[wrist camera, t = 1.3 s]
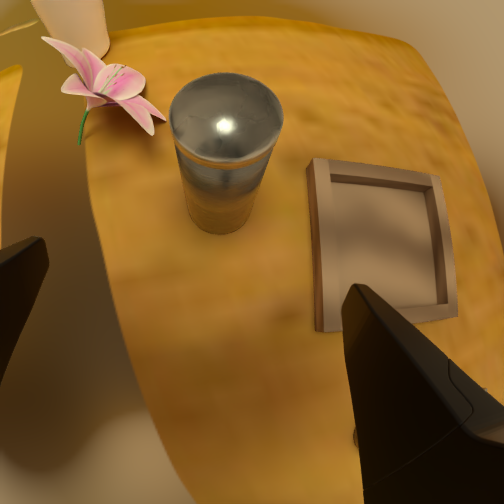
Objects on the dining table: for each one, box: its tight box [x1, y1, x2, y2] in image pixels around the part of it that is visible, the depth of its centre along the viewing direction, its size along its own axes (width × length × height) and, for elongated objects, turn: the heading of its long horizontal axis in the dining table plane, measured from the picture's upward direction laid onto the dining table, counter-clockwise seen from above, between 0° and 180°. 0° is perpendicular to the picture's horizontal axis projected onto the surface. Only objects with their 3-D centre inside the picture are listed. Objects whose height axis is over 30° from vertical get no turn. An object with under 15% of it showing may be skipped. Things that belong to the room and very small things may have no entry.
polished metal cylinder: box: [169, 73, 283, 235], centre depth 17 cm, size 5×5×11 cm
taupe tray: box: [306, 158, 458, 332], centre depth 23 cm, size 12×12×2 cm
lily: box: [41, 37, 166, 145], centre depth 19 cm, size 12×12×10 cm
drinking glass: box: [30, 0, 110, 68], centre depth 17 cm, size 7×7×15 cm
